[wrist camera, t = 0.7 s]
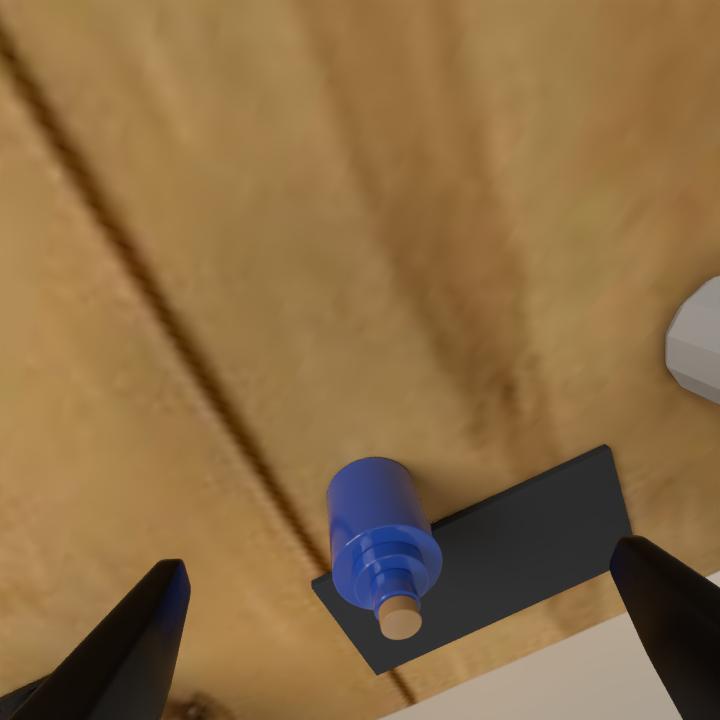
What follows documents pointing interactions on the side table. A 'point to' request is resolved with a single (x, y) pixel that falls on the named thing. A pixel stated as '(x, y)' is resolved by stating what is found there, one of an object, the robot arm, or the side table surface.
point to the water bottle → (697, 342)
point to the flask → (382, 543)
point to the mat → (502, 558)
